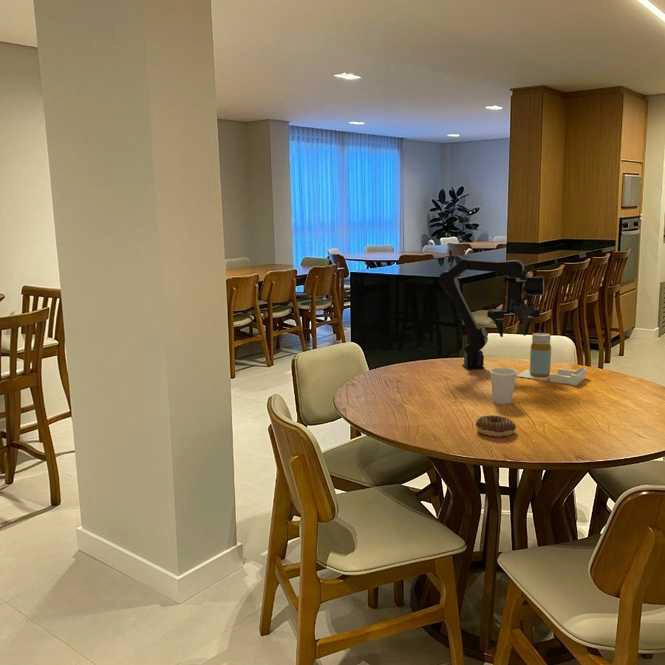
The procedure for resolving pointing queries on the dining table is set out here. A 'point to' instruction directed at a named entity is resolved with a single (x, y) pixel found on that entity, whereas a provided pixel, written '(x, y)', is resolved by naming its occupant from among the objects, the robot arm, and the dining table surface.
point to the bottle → (540, 355)
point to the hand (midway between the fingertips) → (513, 336)
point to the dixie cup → (502, 384)
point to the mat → (527, 375)
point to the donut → (495, 426)
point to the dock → (569, 376)
